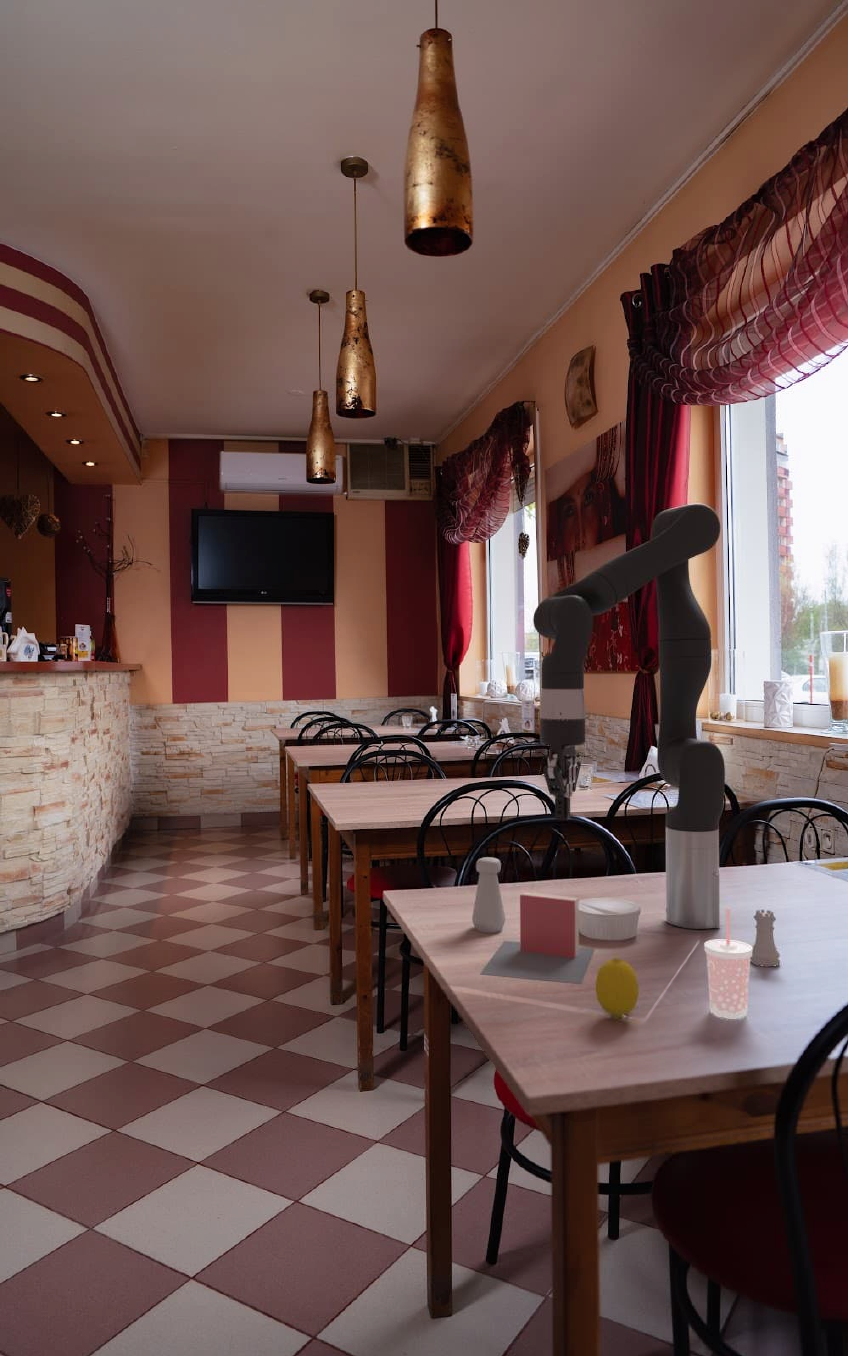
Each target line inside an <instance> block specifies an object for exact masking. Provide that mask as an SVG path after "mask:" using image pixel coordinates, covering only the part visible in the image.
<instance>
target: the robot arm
mask: <svg viewBox="0 0 848 1356" xmlns="http://www.w3.org/2000/svg"><path fill="white" fill-rule="evenodd" d="M720 534H721V522H720V518H719V516H718V514H717V513H716V511H715V509H713V508H712V507H710V506H709V505H707V504H706V503H705V504H704V503H689V504H684V505H680V506H676V507H672V508H668V509H666V510H663V511H661V512H659V513H658V514H657V515H656V516H655V518H654V519H653V521H652V524H651V529H650V539H649V540H648V541H646V542H645V543H643V544H641V545H639V546H636V547H635V548H632V549H630V550H628V551H626V552H624V553H621V554H620V555H617V556H615V557H614V558H612V559H610V560H608V561H607V562H605V563H604V564H602V565H600V566H599V567H598V568H596V569H595V570H593V571H592V572H590V573H589V574H587V575H586V576H585V577H583V578H582V579H581V580H579V581H577V582H575V583H573V584H571V585H568V586H567V587H564V588H563V589H561V590H558V591H557V592H554V593H553V594H551V595H550V596H547V597H546V598H544V599H543V600H542V601H541V602H540V603H539V604H538V605H537V607H536V609H535V611H534V612H533V613H534V614H533V619H532V620H533V621H532V622H533V627H534V629H535V630H536V632H537V633H538V634H539V635H540V636H542V637H543V638H545V639H549V640H554V644H553V648H552V651H551V652H550V653H548V654H547V655H545V656H544V657H543V659H542V660H541V670H540V671H541V690H540V692H541V693H540V699H539V701H540V702H539V742H540V743H541V744H542V745H544V746H549V754H548V757H547V766H544V767H543V769H542V771H543V776H544V779H545V782H546V785H547V790H548V793H549V795H550V796H552V797H553V798H554V819H555V820H556V821H565V822H566V821H568V820H570V819H571V798H572V797H573V793H575V792H576V789H577V784H578V780H579V775H580V771H581V766H582V763H581V761H580V760H578V756H577V752H576V751H577V750H576V746H577V747H578V746H582V745H585V743H586V699H585V697H586V696H585V684H584V683H585V680H584V679H585V674H584V673H585V671H584V669H585V668H584V667H585V666H584V663H585V661H586V657H587V654H588V649H589V645H590V642H591V641H590V640H591V636H592V632H593V626H594V625H593V624H594V621H593V620H594V619H593V617H594V616H599V615H601V614H604V613H606V612H608V611H610V610H612V609H613V608H614V607H616V606H617V605H619V604H620V603H621V602H622V601H623V602H624V601H625V600H626V599H627V598H628V597H630V596H631V595H632V594H634V593H635V592H637V591H638V590H639V589H641V588H642V587H644V586H645V585H647V584H649V582H651V581H652V580H654V579H655V584H656V601H657V603H656V604H657V618H658V619H657V620H658V622H657V623H658V636H657V637H658V666H659V700H660V701H659V703H660V704H659V705H660V706H659V708H660V711H659V730H658V739H657V740H658V741H657V753H656V754H657V755H656V756H657V757H656V759H657V760H656V762H657V768H658V772H659V775H660V777H661V779H662V780H663V781H664V782H665V783H666V784H668V785H670V786H672V787H674V788H678V797H677V803H676V805H675V806H674V807H672V808H670V809H668V810H667V811H666V814H665V912H666V913H665V915H666V917H665V918H666V919H665V920H666V922H667V923H668V924H670V925H671V926H675V927H680V928H684V929H694V930H698V929H699V930H704V929H706V930H707V929H720V927H721V926H720V925H721V924H720V923H721V921H720V920H721V919H720V911H721V910H720V909H721V908H720V904H721V903H720V900H721V899H720V846H719V845H720V843H719V842H720V838H719V837H720V834H719V833H720V832H719V831H720V829H719V828H720V826H719V825H720V819H721V817H722V814H723V811H724V805H725V783H726V765H725V760H724V755H723V754H722V750H721V749H720V748H719V747H718V746H717V745H716V744H715V743H713V742H712V741H708V740H704V739H699V738H698V736H697V709H698V704H699V702H700V699H701V697H702V694H703V691H704V688H705V686H706V684H707V682H708V679H709V676H710V672H711V669H712V661H713V660H712V631H711V627H710V624H709V621H708V619H707V617H706V615H705V612H704V611H703V609H702V608H701V606H700V604H699V602H698V600H697V598H696V596H695V594H694V591H693V590H692V585H691V580H690V566H689V564H690V563H689V561H690V559H692V558H694V557H697V556H699V555H702V554H704V553H706V552H708V551H710V550H711V549H712V548H713V547H714V546H715V545H716V543H717V542H718V540H719V538H720Z"/></svg>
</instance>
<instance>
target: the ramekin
mask: <svg viewBox="0 0 848 1356" xmlns="http://www.w3.org/2000/svg"><path fill="white" fill-rule="evenodd" d="M640 915H641V906H640V905H639V904H638V903H636V902H633V901H630V900H626V899H621V898H615V897H593V898H586V899H582V900H579V934H581V935H583V936H585V937H586V938H590V939H593V940H600V941H601V940H602V941H624V940H629V939H632V938H633V937H635V936H636V934H637V932H638V926H639V919H640Z"/></svg>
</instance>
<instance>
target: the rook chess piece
mask: <svg viewBox="0 0 848 1356" xmlns="http://www.w3.org/2000/svg"><path fill="white" fill-rule="evenodd" d="M753 918H754V920H755V921H756V925H755V929H756V935H755V942H754V944H753V946H752V948H753V951H752V956H751V957H750V962H751V963H752V962H753V963H755V964H758V965H763V966H774V965H777V964H778V965H780V963H781V960H780V959H779V958H780V957H781V954H780V952H779V951H778V948H777V947H776V944H775V938H774V930H775V927H774V926H773V925H774V922H775V921H776V920H777V918H776V917H775V915H774V911H771V910H769V909H767V910H766V912H765V909H757V910H756V911H755V914H754V916H753ZM753 963H752V964H753ZM755 964H754V965H755ZM758 965H757V966H758ZM763 966H762V967H763Z"/></svg>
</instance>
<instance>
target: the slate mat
mask: <svg viewBox="0 0 848 1356" xmlns="http://www.w3.org/2000/svg"><path fill="white" fill-rule="evenodd" d="M594 952H595V948H591V947H582V946H579V955H578V956H577V957H576V958H575V959H573V958H566V957H559V956H552V955H545V954H538V953H532V952H525V951H520V941H510V940H504V941H503V942H502V943H501V944H500V945H499V947H498V949H496V951H495V953H494V954H493V955H492V957H491V958H490V960H489V961H488V962H487V964H486V965H485V967H484V968H483V969H482V971H481V972H480V973H479V975H483V976H484V975H485V976H494V977H505V978H513V979H525V980H535V981H536V980H537V981H546V982H553V983H554V982H556V983H566V984H567V983H568V984H575V985H576V984H577V985H582V983H583V980H584V978H585V974H586V973H587V970H588V967H589V965H590V962H591V961H592V956H593V954H594Z"/></svg>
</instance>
